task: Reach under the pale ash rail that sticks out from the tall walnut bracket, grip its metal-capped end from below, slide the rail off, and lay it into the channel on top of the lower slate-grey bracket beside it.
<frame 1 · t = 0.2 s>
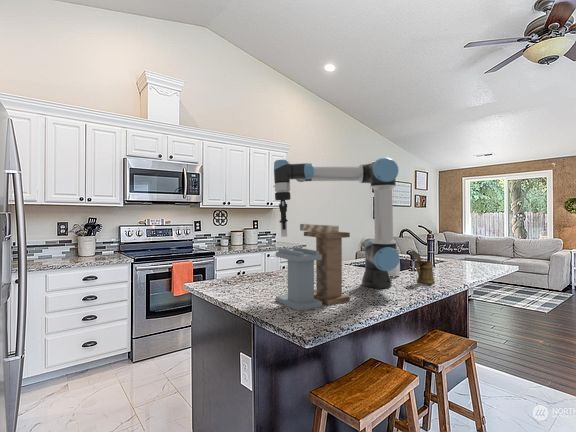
hand: (284, 235, 163), 28 cm above the table, tool pointing down, fingers open, 13 cm apart
rail: (318, 231, 156), point 30 cm above the table, touching tall bracket
cup: (389, 276, 203), on the table
tall bracket: (326, 298, 151), on the table
low bracket: (298, 303, 143), on the table
wooden mug: (422, 282, 184), on the table
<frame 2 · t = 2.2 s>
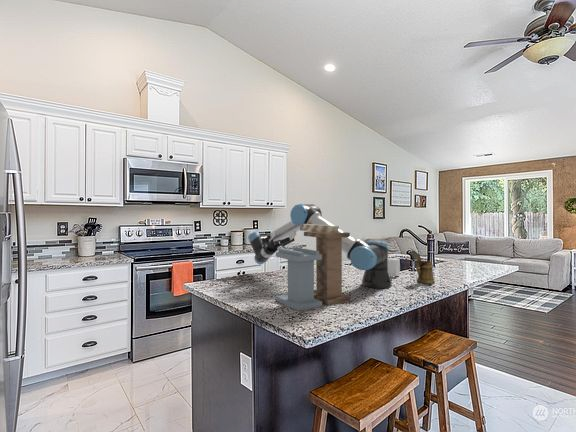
hand: (284, 233, 182), 28 cm above the table, tool pointing upward, fingers open, 13 cm apart
nothing on the table moved.
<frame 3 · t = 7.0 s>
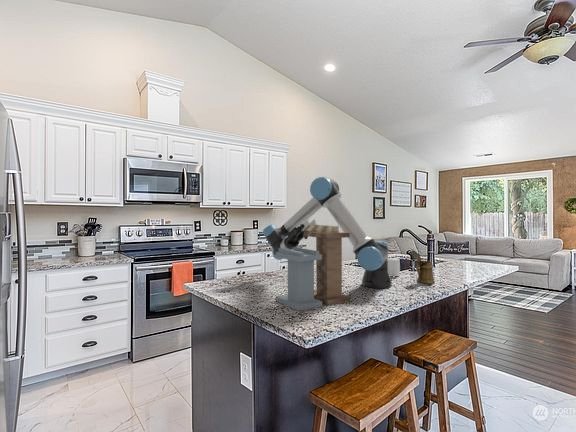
hand: (311, 222, 160), 34 cm above the table, tool pointing upward, fingers closed on rail, 3 cm apart
rail: (318, 231, 156), point 30 cm above the table, touching gripper, tall bracket
everything else where it was.
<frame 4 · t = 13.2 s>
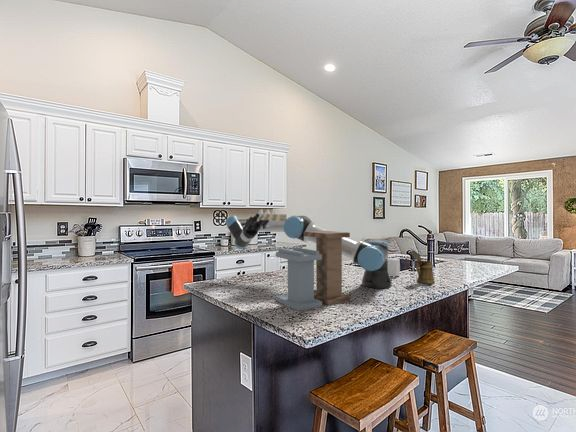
hand: (265, 211, 169), 39 cm above the table, tool pointing upward, fingers closed on rail, 3 cm apart
rail: (270, 220, 164), point 35 cm above the table, touching gripper
everything else where it was.
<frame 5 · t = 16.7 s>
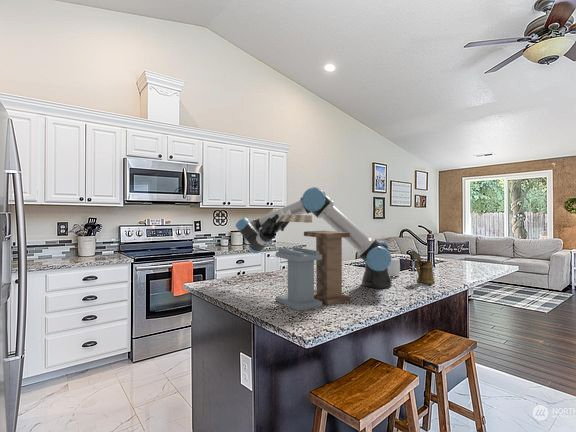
hand: (286, 212, 151), 39 cm above the table, tool pointing upward, fingers closed on rail, 3 cm apart
rail: (292, 221, 147), point 35 cm above the table, touching gripper
everything else where it was.
when the fingers open (27 cm above the table, at t = 19.7 s): rail moves 1 cm, resting on low bracket.
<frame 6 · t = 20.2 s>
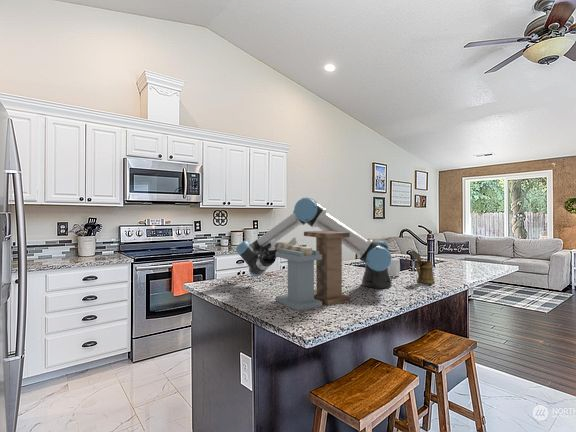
hand: (285, 240, 152), 26 cm above the table, tool pointing upward, fingers open, 10 cm apart
rail: (292, 252, 147), point 21 cm above the table, touching low bracket
everything else where it was.
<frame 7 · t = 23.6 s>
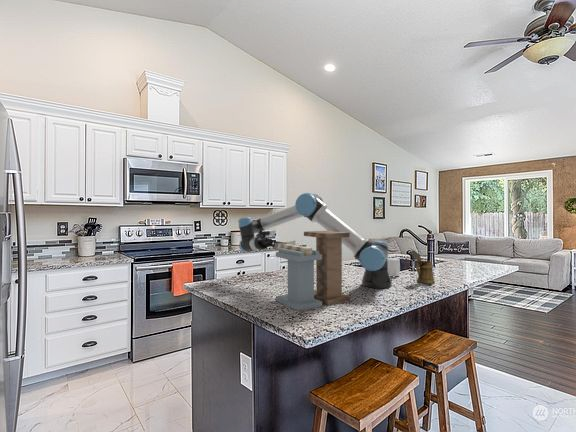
hand: (284, 238, 166), 26 cm above the table, tool horizontal, fingers open, 13 cm apart
nothing on the table moved.
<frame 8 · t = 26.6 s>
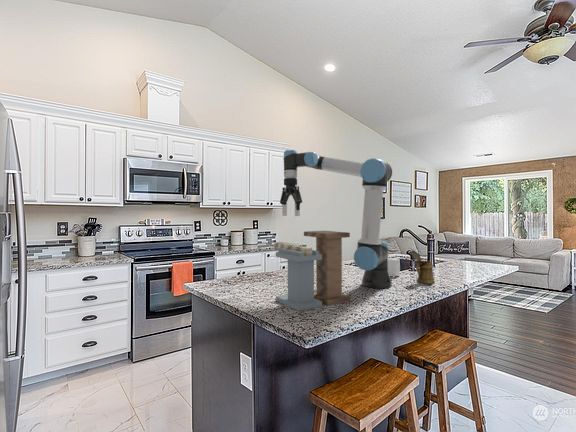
hand: (290, 216, 188), 37 cm above the table, tool pointing down, fingers open, 13 cm apart
nothing on the table moved.
at the end: rail inside the target area on the low bracket (0.3 cm from its centre), point 21.5 cm above the low bracket's base; rail tilted 0°; the gripper is holding nothing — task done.
